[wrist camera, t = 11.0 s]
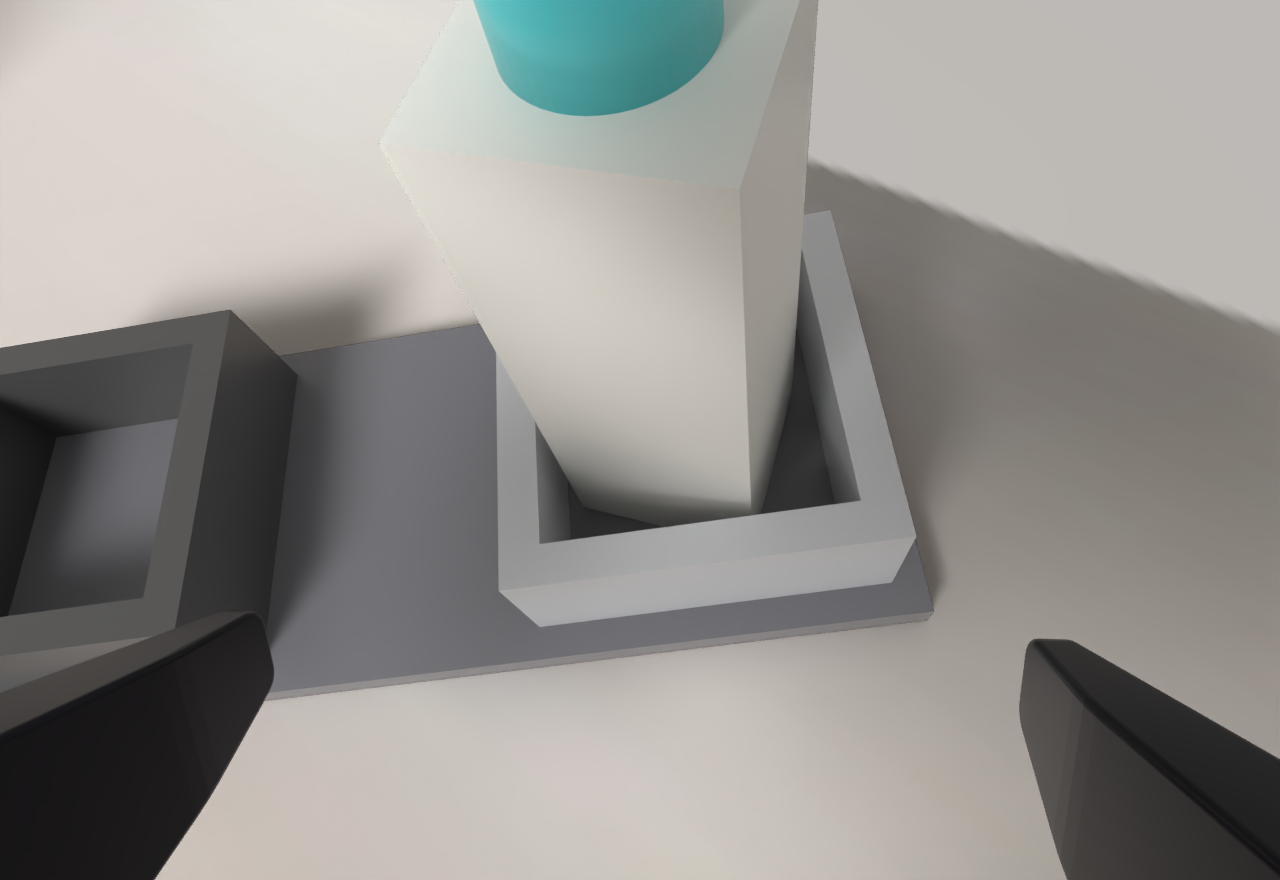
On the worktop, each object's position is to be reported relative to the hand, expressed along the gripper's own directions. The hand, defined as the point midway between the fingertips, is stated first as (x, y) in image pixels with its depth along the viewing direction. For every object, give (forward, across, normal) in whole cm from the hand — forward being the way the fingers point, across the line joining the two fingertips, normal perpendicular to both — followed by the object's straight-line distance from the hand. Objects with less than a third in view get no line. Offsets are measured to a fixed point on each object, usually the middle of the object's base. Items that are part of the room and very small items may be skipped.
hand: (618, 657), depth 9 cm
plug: (+10, 0, +1) cm, 10 cm away
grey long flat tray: (+10, +7, +2) cm, 12 cm away
